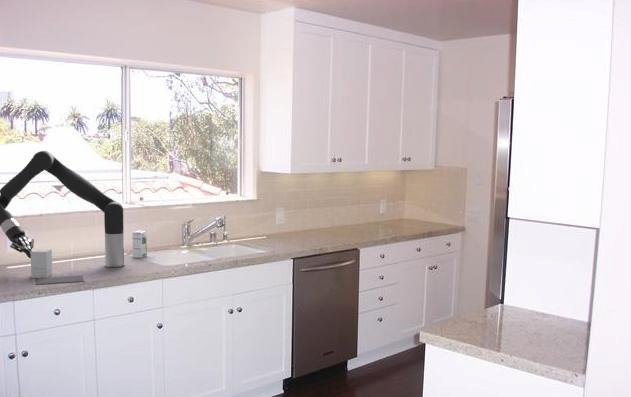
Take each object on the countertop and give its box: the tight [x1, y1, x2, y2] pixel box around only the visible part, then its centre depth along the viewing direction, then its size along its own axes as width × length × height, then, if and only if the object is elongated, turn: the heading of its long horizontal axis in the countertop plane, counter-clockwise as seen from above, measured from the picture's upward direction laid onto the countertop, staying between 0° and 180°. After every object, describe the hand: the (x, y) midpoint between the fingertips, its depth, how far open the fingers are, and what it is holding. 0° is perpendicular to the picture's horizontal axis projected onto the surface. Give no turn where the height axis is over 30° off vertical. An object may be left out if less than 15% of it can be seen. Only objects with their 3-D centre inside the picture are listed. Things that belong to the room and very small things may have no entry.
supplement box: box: [30, 248, 54, 279], centre depth 280 cm, size 7×7×13 cm
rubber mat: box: [35, 275, 84, 286], centre depth 273 cm, size 20×12×1 cm, turn 113°
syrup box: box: [131, 230, 148, 259], centre depth 331 cm, size 6×6×14 cm
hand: (32, 257), depth 282 cm, fingers closed
